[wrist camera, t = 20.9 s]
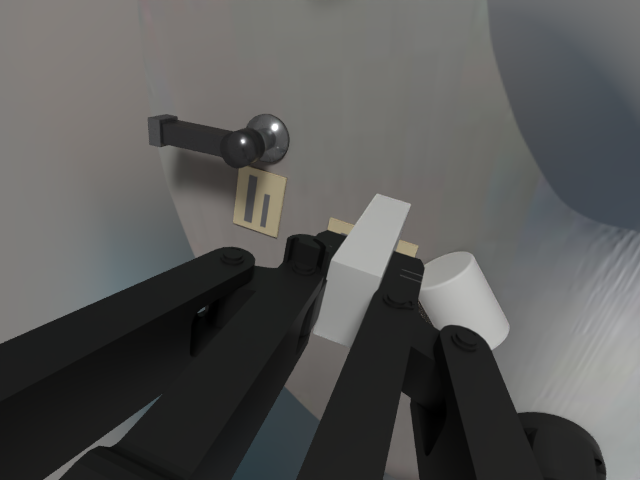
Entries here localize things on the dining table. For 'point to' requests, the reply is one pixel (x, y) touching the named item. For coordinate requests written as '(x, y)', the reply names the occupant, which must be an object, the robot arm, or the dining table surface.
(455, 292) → the mug
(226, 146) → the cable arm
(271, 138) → the grey mushroom knob
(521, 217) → the dining table surface
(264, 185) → the label card
